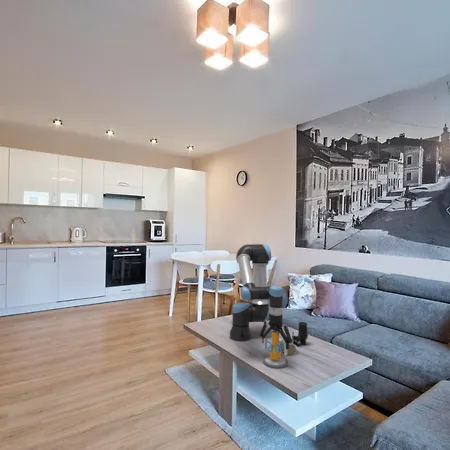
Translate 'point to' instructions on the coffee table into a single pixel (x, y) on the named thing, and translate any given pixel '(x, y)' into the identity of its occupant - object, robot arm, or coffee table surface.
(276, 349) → the cylinder
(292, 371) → the coffee table surface
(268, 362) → the plate
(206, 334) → the coffee table surface
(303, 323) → the scope
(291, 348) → the ceramic mug
